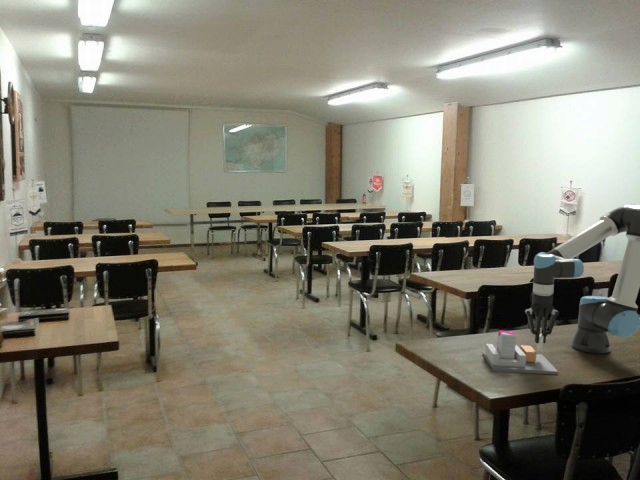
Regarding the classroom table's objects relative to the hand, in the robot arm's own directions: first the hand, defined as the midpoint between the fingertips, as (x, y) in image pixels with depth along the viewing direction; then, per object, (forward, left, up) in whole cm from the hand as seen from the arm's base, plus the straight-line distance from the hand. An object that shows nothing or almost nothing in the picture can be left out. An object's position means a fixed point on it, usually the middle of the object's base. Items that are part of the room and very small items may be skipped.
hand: (539, 350), depth 218 cm
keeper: (+5, 0, -3) cm, 6 cm away
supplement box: (+14, +3, -4) cm, 15 cm away
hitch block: (+9, +3, -5) cm, 11 cm away
